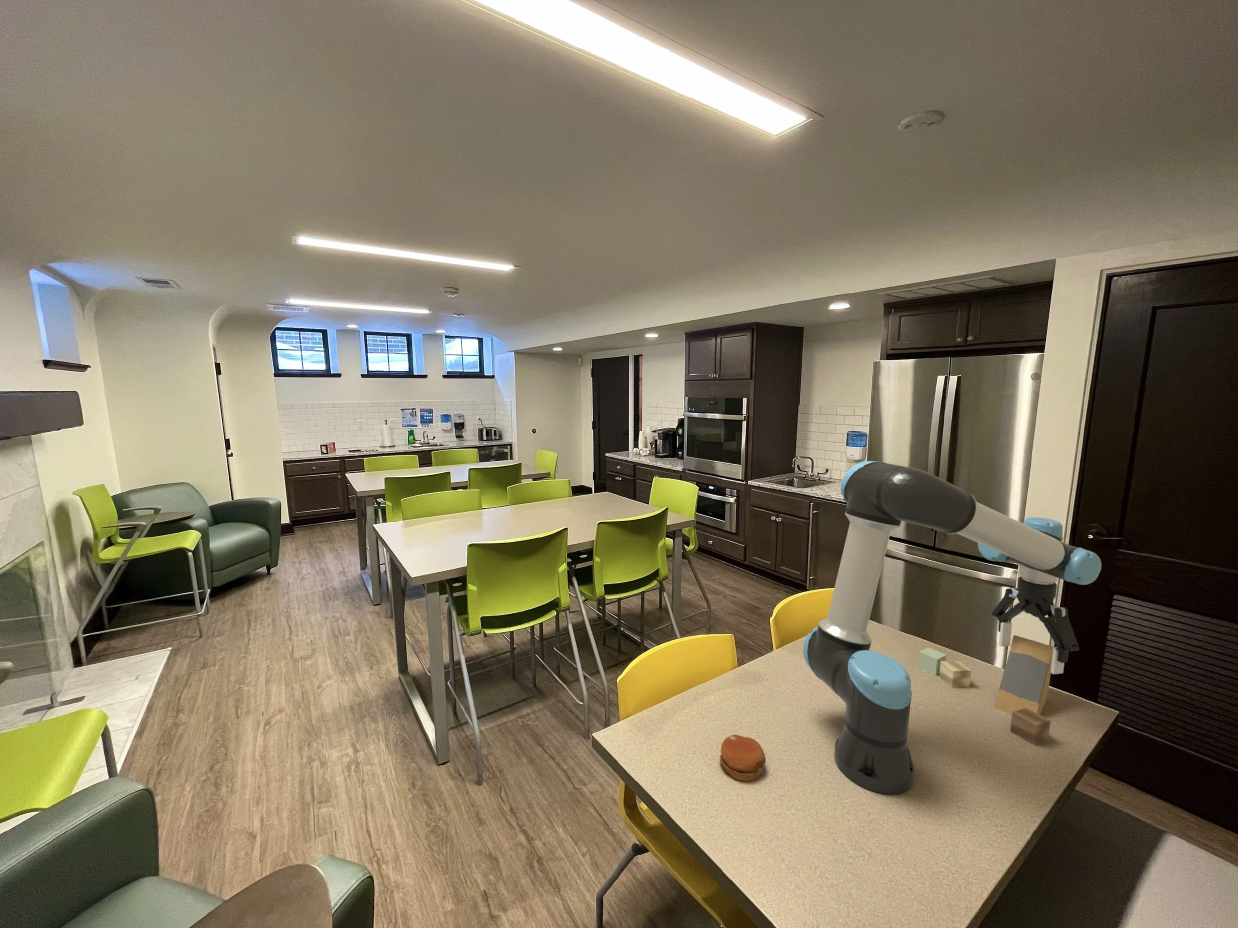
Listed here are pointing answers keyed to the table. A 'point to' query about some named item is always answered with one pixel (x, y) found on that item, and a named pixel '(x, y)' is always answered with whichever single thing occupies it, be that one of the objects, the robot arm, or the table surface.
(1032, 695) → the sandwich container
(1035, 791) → the table surface
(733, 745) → the burger
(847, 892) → the table surface
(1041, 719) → the walnut cube
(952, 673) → the maple cube
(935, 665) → the sage cube
